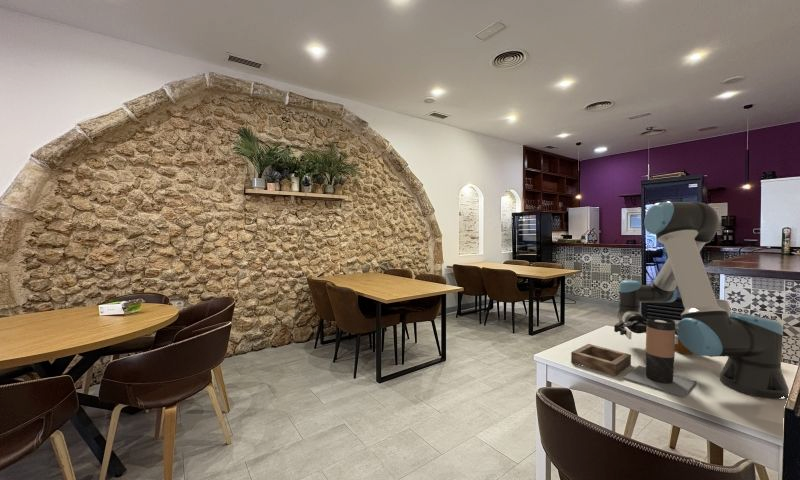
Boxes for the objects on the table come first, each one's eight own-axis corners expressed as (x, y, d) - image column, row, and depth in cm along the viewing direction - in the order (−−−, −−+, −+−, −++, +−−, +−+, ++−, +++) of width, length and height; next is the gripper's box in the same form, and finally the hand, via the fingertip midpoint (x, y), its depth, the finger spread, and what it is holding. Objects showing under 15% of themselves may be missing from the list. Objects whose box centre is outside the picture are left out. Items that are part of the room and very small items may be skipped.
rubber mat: (696, 382, 110) (696, 381, 110) (683, 397, 100) (683, 395, 100) (639, 367, 123) (639, 365, 123) (623, 379, 113) (623, 377, 113)
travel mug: (679, 385, 107) (680, 323, 107) (652, 383, 109) (654, 322, 108) (665, 375, 115) (667, 317, 114) (640, 373, 116) (641, 316, 116)
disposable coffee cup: (695, 350, 140) (696, 322, 140) (700, 357, 132) (701, 327, 132) (666, 346, 145) (667, 318, 145) (670, 352, 137) (671, 324, 137)
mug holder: (630, 365, 125) (631, 354, 124) (615, 376, 115) (615, 364, 115) (588, 353, 136) (588, 343, 136) (571, 362, 127) (571, 352, 127)
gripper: (672, 334, 133) (697, 353, 113) (600, 327, 142) (611, 343, 122) (672, 316, 132) (697, 331, 113) (600, 310, 142) (612, 323, 122)
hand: (653, 337), depth 117 cm, fingers open, 13 cm apart
